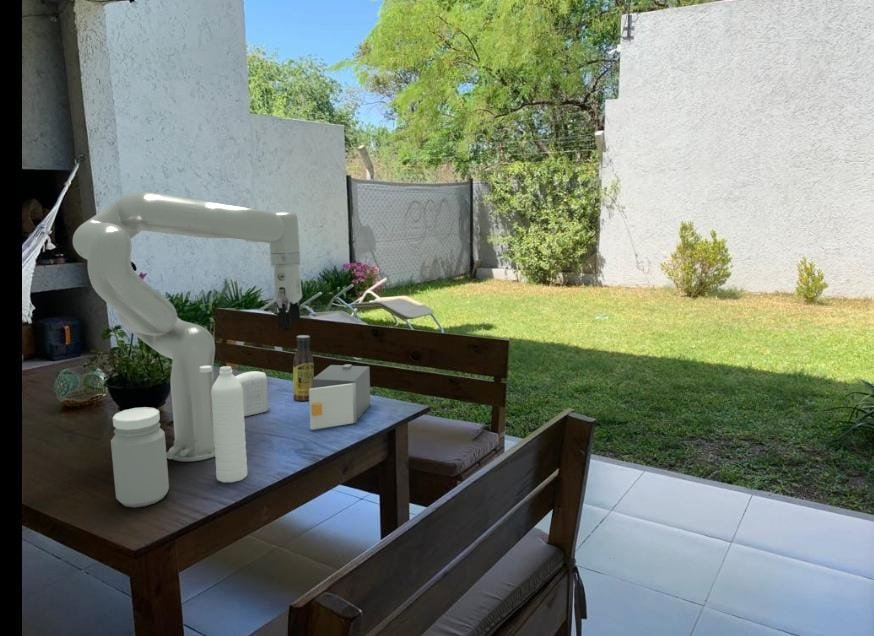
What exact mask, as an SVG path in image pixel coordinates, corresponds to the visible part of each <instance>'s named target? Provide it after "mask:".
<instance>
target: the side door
mask: <svg viewBox="0 0 874 636" xmlns="http://www.w3.org/2000/svg"><path fill="white" fill-rule="evenodd" d="M308 403H309V425H310V426H309V428H310V430H316V429H317V430H319V429H323V428H331V427H336V426H343V425H348V424H351V425H352V424H356V423H357V421H356V383H350V384H342V385H334V386H326V387H319V388H311V389H309V400H308Z"/></svg>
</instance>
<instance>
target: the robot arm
mask: <svg viewBox="0 0 874 636" xmlns="http://www.w3.org/2000/svg"><path fill="white" fill-rule="evenodd" d="M142 231H144V232H154V233H161V234H170V235H179V236H188V237H194V238H203V239H204V238H205V239H233V240H236V239H237V240H244V241H246V242H250V243H251V242H252V243H266V244H267V243H268V244H269V255H270V267H274V268H273V271H274V273H273V279H274V281H273V283H274V298H275V302H276V303H277V304H276V308H277V309H276V314H277V315H276V316H277V323H278V324H277V325H278V328H280V329H281V328H282V329H283V328H286V329H289V328H291V327H292V321H300V320H301V311H300V301H301V299H302V298H303V291H302V281H301V274H300V266H299V265H301V254H300V252H301V251H300V239H299V237H300V234H299V220H298V215H297V214H296V213H295V212H293V211H273V212H272V211H268V210H261V209H257V208H256V209H255V208H250V207H243V206H235V205H229V204H223V203H220V202H214V201H208V200H201V199H193V198H187V197H182V196H177V195H170V194H163V193H157V192H151V191H149V192H148V191H144V192H130V193H129V194H126V195H124V196H122V197H120V198H119V199H117V200H116V201H115V202H113V203H112V204H110V205H108V206H107V207H106V208H104V209H103V210H101V211H100V212H98V213H97V214H95V215H93V216H92V217H91V218H89V219H87V220H86V221H85V222H83V223H82V224H80V225H79V226H78V227H77V229H76V230H75V232H74V233H73V235H72V246H73V249H74V250H75V251H76V253H77V254H78V255H79V256H80V257H82V259H85V260H87V274H88V278H89V281H90V283H91V286H92V288H93V289H94V292H96V294H97V295H98V296H99V297H100V298H101V299H102V300H104V301H105V302H106V303H107V304H108V305H109V306H111V307H112V308H113V309H114V310H115V311H116V312H117V316H118V319H119V321H120V323H121V324H122V325H123V326H124V328H125V329H127V330H128V331H129V332H130V333H132V334H133V335H134V336H136V337H137V338H138V339H139V340H141V341H142V342H143V343H145V344H146V345H148V347H150V348H152V350H154V351H156V352H157V353H159V355H161V356H164V357H166V358H167V359H171V360H172V365H171V366H172V367H171V371H170V394H171V404H172V418H173V431H174V440H173V445H172V446H171V447H170V448H169V450H168V451H166V456H167V459H168V460H173V461H177V462H186V463H189V462H197V461H198V462H199V461H203V460H208V459H211V458H214V457H215V446H214V444H215V442H214V431H213V411H212V409H213V408H212V398H211V389H212V386H213V384H214V383H215V380H214V363H215V362H214V361H215V353H216V344H215V340H214V339H215V338H214V337H213V335H212V334H211V332H210V331H209V330H208V329H207V328H206V327H203V326H202V325H200V324H196V323H193V322H188V321H185V320H182V319H181V318H179V317H178V313H177V309H176V308H175V307H174V305H173V304H172V302H171V301H169V299H168V298H166V297H165V296H163V295H162V294H161V293H159V291H157V290H155V289H154V288H153V287H152V286H151V285H150V284H148V283H147V282H146V281H145V280H144V279H142V278H141V277H140V276H139V274H138V273H137V272H136V271H135V270H134V268H133V266H132V261H131V256H132V255H131V254H132V248H133V247H132V246H133V245H132V244H133V243H132V239H133V238H134V237H136V236H137V235H138V234H140V233H141V232H142ZM207 365H208V366H212V371H211V372H200V367H201V366H207ZM209 371H210V370H209Z"/></svg>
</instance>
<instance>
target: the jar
mask: <svg viewBox="0 0 874 636" xmlns="http://www.w3.org/2000/svg"><path fill="white" fill-rule="evenodd" d="M160 416H161V415H160V410H159V409H156V408H155V407H147V406H143V407H133V408H129V409H123V410H122V411H118V412H117V413H114V415H113V417H112V424H113V425H112V426H113V427H114V428H115V429H114V430H113V433H114V435H113V437H112V439H110V448H111V458H112V459H111V461H112V471H113V480H114V490H115V498H116V500H117V501H118V502H120V503H121V504H122V506H124V507H129V508H141V507H146V506H149V505H152V504H156V503H157V502H159V501H161V500H162V499H164V498H165V497H166V495H167V493H168V491H169V488H170V484H169V483H170V482H169V470H168V460H167V459H168V458H167V456H166V452H167V445H166V443H167V442H166V432H165V431H164V430H163V429H162V428H161V427H160V426H161V423H160Z"/></svg>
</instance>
